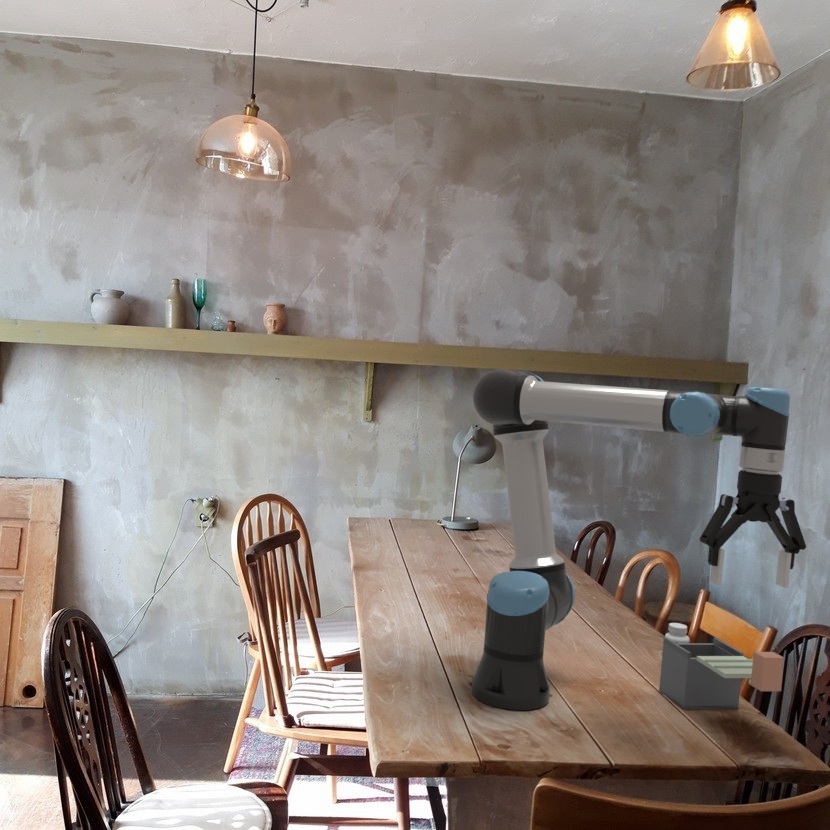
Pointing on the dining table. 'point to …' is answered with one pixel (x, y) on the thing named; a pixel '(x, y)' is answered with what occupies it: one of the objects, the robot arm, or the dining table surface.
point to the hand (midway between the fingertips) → (748, 584)
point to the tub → (697, 676)
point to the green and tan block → (749, 668)
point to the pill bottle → (677, 633)
